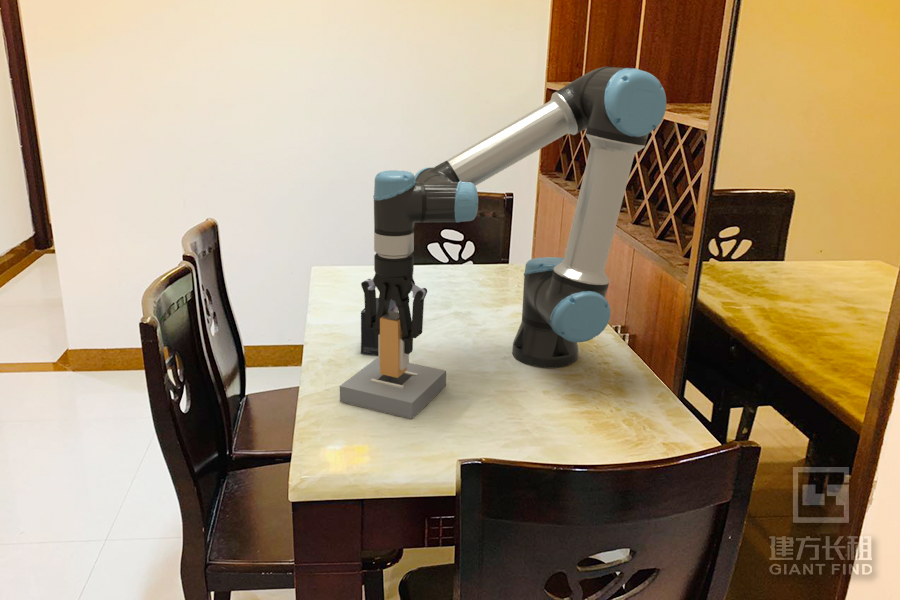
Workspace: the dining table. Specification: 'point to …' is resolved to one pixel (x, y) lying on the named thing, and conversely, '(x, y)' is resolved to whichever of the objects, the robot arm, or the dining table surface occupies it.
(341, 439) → the dining table surface
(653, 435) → the dining table surface
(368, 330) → the small box
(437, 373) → the socket
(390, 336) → the plug
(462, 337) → the dining table surface
